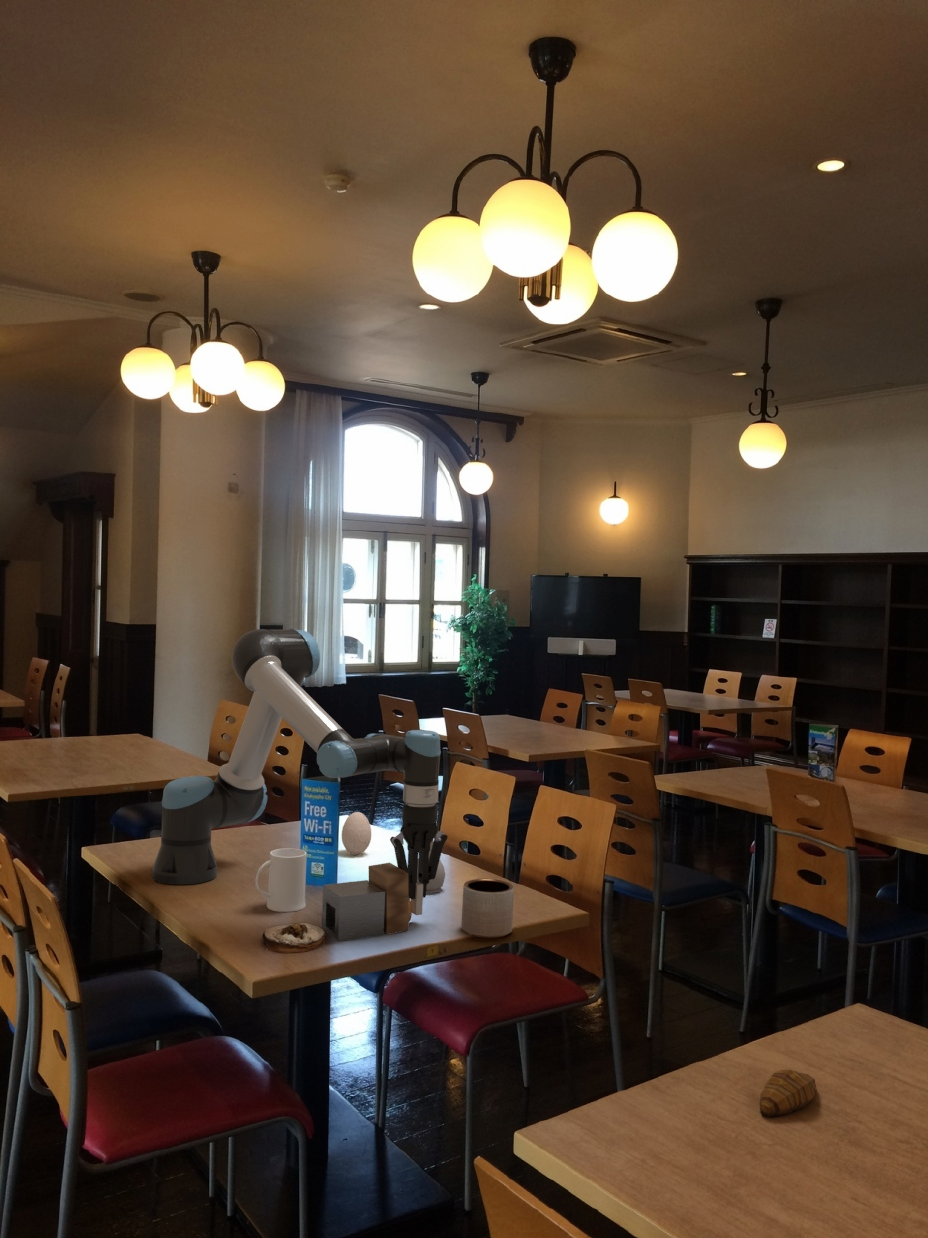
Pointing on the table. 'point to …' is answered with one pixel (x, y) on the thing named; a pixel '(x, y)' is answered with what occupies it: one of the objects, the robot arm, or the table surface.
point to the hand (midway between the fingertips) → (416, 912)
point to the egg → (356, 833)
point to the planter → (487, 908)
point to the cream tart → (294, 937)
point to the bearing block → (353, 910)
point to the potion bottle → (439, 878)
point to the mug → (285, 880)
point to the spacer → (392, 895)
